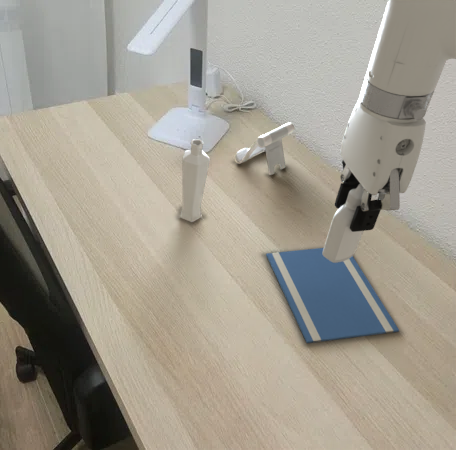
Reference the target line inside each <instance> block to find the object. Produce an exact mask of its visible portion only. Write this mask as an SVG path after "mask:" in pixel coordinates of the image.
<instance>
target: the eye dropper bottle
mask: <svg viewBox="0 0 456 450" xmlns="http://www.w3.org/2000/svg"><path fill="white" fill-rule="evenodd" d="M363 192H364V187H363V186H362V185H361V184H359V185H358V187H357V188H356V189H352V190H350V191H349V194H348V197H347V200H346V203H345V204H344V205H342V206H341V207H340V208H339V209H338V208H337V210H336V212H335V213H334V214H333V216H332V220H331V223H330V226H329V230H328V233H327V236H326V239H325V243H324V246H323V248H324V249H323V253H322V254H323V256H324V257H325V258H327V259H328V260H329V261H331V262H333V263H337V262H342V261H345V260H347V259H349V258H350V257H352V256H353V257H354V255H355V254H356V252H357V250H358V248H359V245H360V242H361V239H362V236H363V234H364V231H356V232H352V231H351V230H350V225H351V222H352V219H353V216H354V213H355V210H356V207H357V206H361V202H362V197H363Z"/></svg>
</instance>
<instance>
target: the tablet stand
mask: <svg viewBox="0 0 456 450" xmlns="http://www.w3.org/2000/svg"><path fill="white" fill-rule="evenodd" d="M295 129H296V127H295V125H294V124H293V123H292V122H287V123H285V124H282V125H281V126H279V127H277V128H275V129H272V130H271V131H268V132H266V133H265V134H264V133H263V134H262V135H260V136H258V137H256V139H255V140H254V142H253V144H252V145H251V146H250V147H249V148H248V147H244V148H241V149H240V150H238V151H236V152H235V155H234V161H235V162H236V163H237V164H239V165H240V164H244V163H246V162H247V161H248V160H251V159H252V158H254V157H256V156H258V155H260V154H262V153H264V152H265V155H266V156H265V158H266V163H267V169H268V174H269V175H271V176H272V175H274V174H275V173H276V172H275V171H276V169H275V167H276V166H279V169H280V170H283V169H285V168H286V160H285V152H284V144H283V138H285V137H287V136H289V135H291V134H293V133H295Z"/></svg>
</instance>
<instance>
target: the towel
mask: <svg viewBox="0 0 456 450" xmlns="http://www.w3.org/2000/svg"><path fill="white" fill-rule="evenodd" d="M323 249H324V247H319V248H318V247H317V248H308V249H306V248H305V249H299V250H298V249H297V250H288V251H276V252H268V253H266V255H265V256H266V259H267V260H268V263H269V265H270V267H271V269H272V271H273V273H274V275H275V277H276V280H277V282H278V284H279V287H280V289H281V291H282V293H283V295H284V297H285V299H286V302H287V304H288V306H289V308H290V311H291V313H292V315H293V317H294V319H295V321H296V323H297V326H298V327H299V330H300V332H301V334H302V336H303V338H304V340H305V343H306V344H314V343H320V342H328V341H329V342H330V341H335V340H345V339H353V338H361V337H368V336H374V335H375V336H376V335H384V334H391V333H398V332H400V329H399V327H398V326H397V324H396V322H395V321H394V319H393V318H392V316H391V315H390V312H389V311H388V310H387V308H386V307H385V305H384V303H383V302H382V300H381V299H380V297H379V296H378V293H376V290H375V289H374V287H373V286H372V285H371V283H370V282H369V280H368V278H367V276H366V274H364V272H363V270H362V268H361V267H360V265H359V264H358V262H357V261H356V259H355V257H354V255H353V256H352V257H350V258H349V259H347V260H345V261H342V262H337V263H333V262H331V261H329V260H328V259H327V258H325V257H324V256H323V254H322V253H323Z"/></svg>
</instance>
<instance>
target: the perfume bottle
mask: <svg viewBox="0 0 456 450" xmlns="http://www.w3.org/2000/svg"><path fill="white" fill-rule="evenodd" d="M204 144H205V143H204V141H203V140H202V139H199V138H197V139H195V138H194V139H191V141H190V149H188V150H187V149H186V150H185V151H184V153H183V156H182V161H181V165H182V167H181V170H182V171H181V172H182V173H181V175H182V177H181V178H182V179H181V181H182V182H181V183H182V185H181V186H182V189H181V190H182V191H181V192H182V195H181V196H182V197H181V198H182V208H181V212H180V215H179V218H180V219H183V220H185V221H188V222H190V223H193V222H195V221H198V220H199V219H201V218H202V217H203V215H202V211H201V207H202V202H203V196H204V192H205V188H206V182H207V177H208V172H209V168H210V167H209V166H210V162H211V158H210V157H209V155H208V154H207V153H206V152H205V151H204V150H203V147H204Z"/></svg>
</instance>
